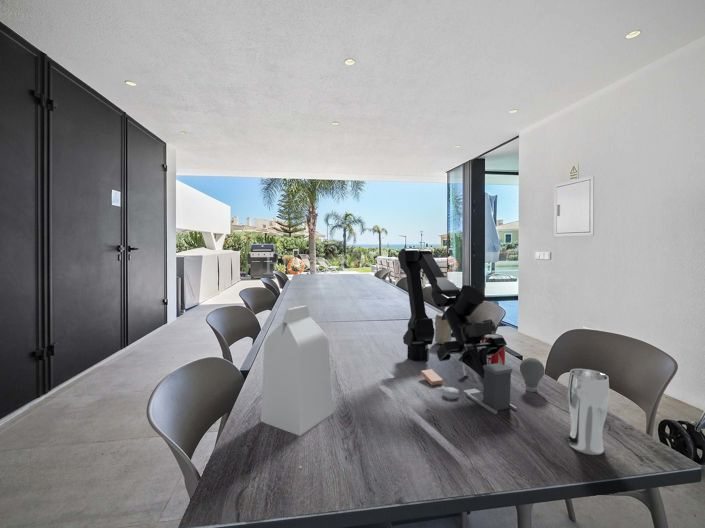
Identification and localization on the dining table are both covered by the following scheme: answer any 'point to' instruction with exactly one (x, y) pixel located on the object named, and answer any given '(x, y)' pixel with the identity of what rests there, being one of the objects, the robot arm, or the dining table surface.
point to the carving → (442, 330)
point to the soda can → (496, 357)
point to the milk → (296, 374)
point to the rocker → (431, 377)
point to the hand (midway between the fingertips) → (486, 378)
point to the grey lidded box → (497, 386)
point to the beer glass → (587, 409)
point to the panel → (454, 394)
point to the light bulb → (531, 373)
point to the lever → (465, 369)
